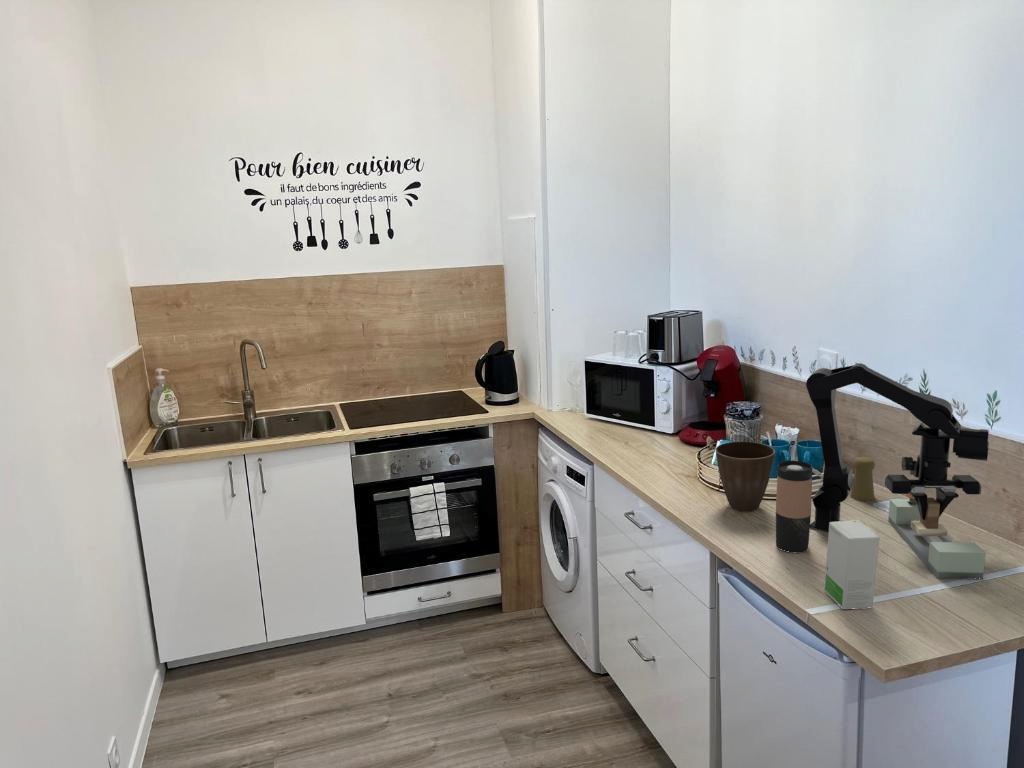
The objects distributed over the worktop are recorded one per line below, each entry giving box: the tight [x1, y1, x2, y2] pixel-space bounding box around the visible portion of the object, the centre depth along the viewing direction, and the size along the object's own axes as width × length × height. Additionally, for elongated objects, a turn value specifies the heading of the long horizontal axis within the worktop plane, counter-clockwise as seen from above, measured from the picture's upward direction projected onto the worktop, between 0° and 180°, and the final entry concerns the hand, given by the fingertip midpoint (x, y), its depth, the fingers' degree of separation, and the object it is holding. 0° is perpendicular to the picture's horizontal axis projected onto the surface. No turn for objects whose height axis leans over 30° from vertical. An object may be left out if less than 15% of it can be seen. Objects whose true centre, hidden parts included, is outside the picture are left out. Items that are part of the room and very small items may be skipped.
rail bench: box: [887, 498, 986, 580], centre depth 173 cm, size 30×9×6 cm, turn 172°
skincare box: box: [823, 519, 881, 609], centre depth 152 cm, size 8×7×16 cm
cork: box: [849, 456, 876, 502], centre depth 205 cm, size 6×6×11 cm
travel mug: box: [775, 460, 813, 553], centre depth 176 cm, size 8×8×20 cm
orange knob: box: [905, 493, 917, 505], centre depth 184 cm, size 3×3×4 cm
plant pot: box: [715, 441, 776, 513], centre depth 201 cm, size 15×15×16 cm
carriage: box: [911, 497, 948, 537], centre depth 175 cm, size 5×6×8 cm
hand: (929, 519), depth 175 cm, fingers closed on carriage, 2 cm apart
